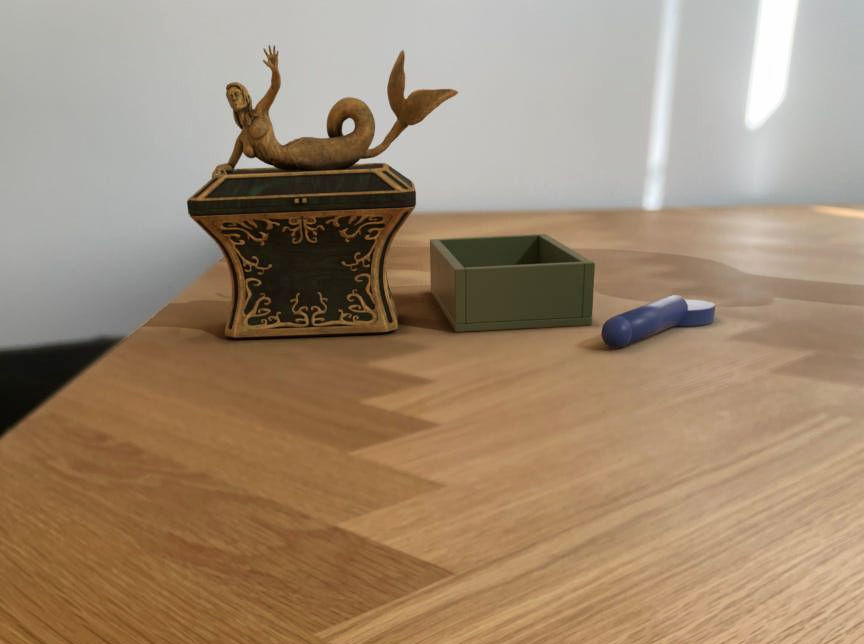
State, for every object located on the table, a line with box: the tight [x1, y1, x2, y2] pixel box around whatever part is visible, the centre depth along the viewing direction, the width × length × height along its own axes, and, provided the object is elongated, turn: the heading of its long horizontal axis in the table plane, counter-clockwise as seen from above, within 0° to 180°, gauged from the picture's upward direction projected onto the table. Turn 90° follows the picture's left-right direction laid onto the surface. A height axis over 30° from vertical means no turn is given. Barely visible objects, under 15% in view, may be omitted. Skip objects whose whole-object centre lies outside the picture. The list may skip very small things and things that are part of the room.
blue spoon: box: [600, 294, 716, 350], centre depth 77 cm, size 14×5×2 cm, turn 142°
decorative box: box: [186, 44, 459, 340], centre depth 79 cm, size 20×10×20 cm, turn 90°
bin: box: [429, 233, 596, 333], centre depth 88 cm, size 11×19×5 cm, turn 4°
